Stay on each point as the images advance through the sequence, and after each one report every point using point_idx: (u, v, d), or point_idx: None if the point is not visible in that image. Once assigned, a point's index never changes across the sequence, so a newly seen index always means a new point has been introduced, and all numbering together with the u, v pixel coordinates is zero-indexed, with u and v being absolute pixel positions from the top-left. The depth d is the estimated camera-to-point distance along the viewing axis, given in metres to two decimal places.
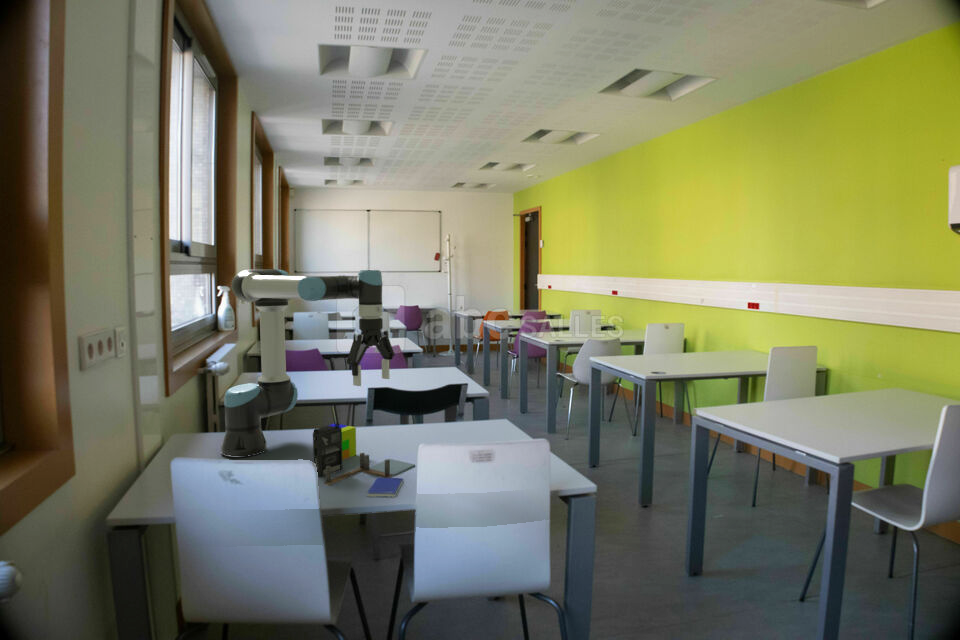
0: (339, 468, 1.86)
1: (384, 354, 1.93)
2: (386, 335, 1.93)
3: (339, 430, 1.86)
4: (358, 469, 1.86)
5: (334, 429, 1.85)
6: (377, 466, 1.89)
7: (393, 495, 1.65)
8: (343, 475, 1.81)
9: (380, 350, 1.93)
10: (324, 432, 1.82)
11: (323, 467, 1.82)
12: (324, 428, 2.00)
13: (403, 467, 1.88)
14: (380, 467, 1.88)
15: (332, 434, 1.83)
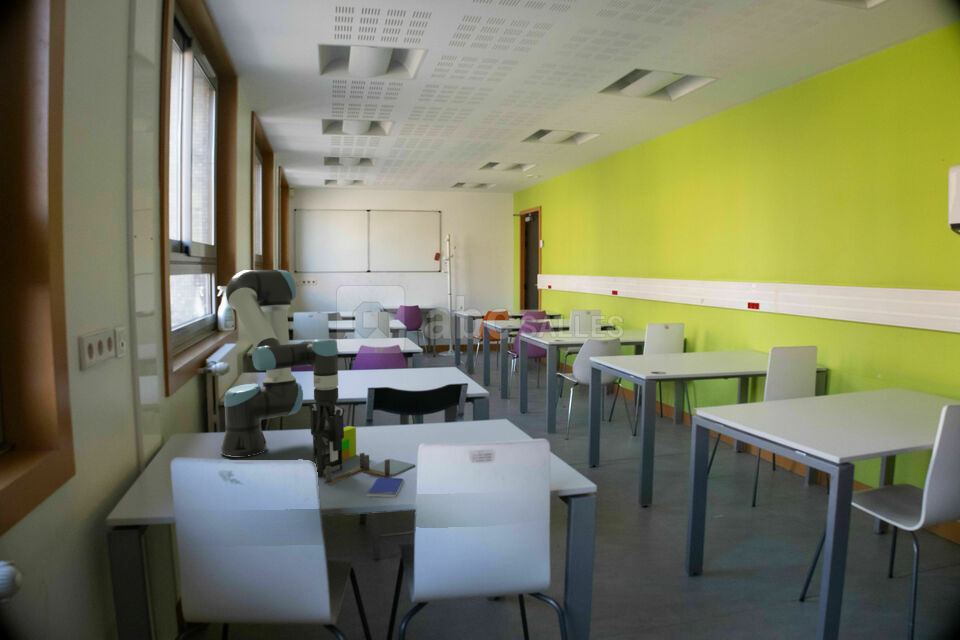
0: (339, 468, 1.86)
1: None
2: (336, 414, 1.80)
3: None
4: (358, 469, 1.86)
5: None
6: (377, 466, 1.89)
7: (393, 495, 1.65)
8: (343, 475, 1.81)
9: None
10: (324, 432, 1.82)
11: (323, 467, 1.82)
12: (324, 428, 2.00)
13: (403, 467, 1.88)
14: (380, 467, 1.88)
15: None
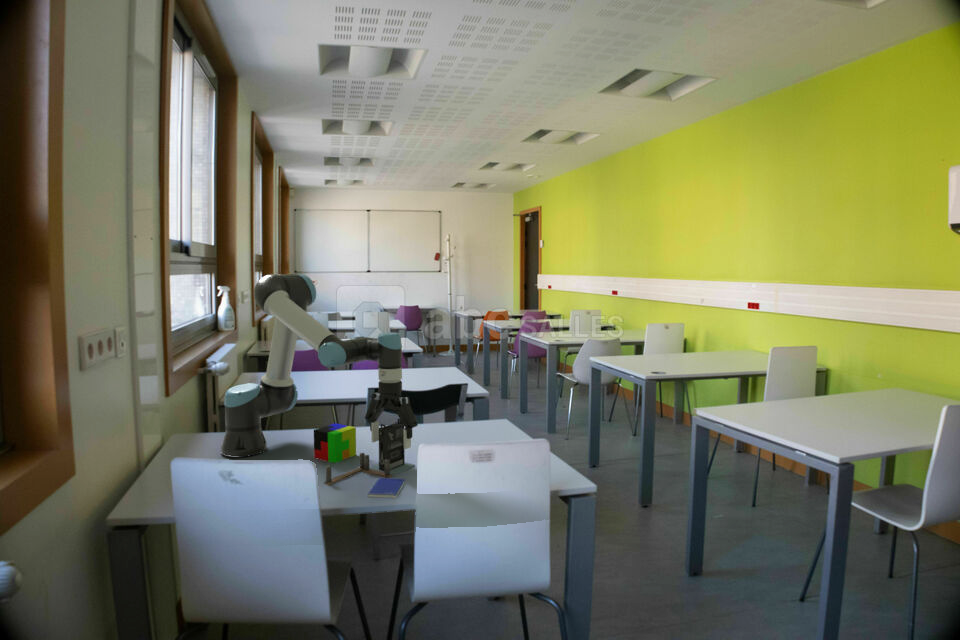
0: (402, 463, 1.90)
1: None
2: (402, 403, 1.83)
3: (402, 425, 1.89)
4: (358, 469, 1.86)
5: (398, 424, 1.89)
6: (377, 466, 1.89)
7: (394, 496, 1.65)
8: (343, 475, 1.81)
9: None
10: (389, 427, 1.86)
11: None
12: (324, 428, 2.00)
13: (403, 467, 1.88)
14: None
15: (396, 429, 1.87)
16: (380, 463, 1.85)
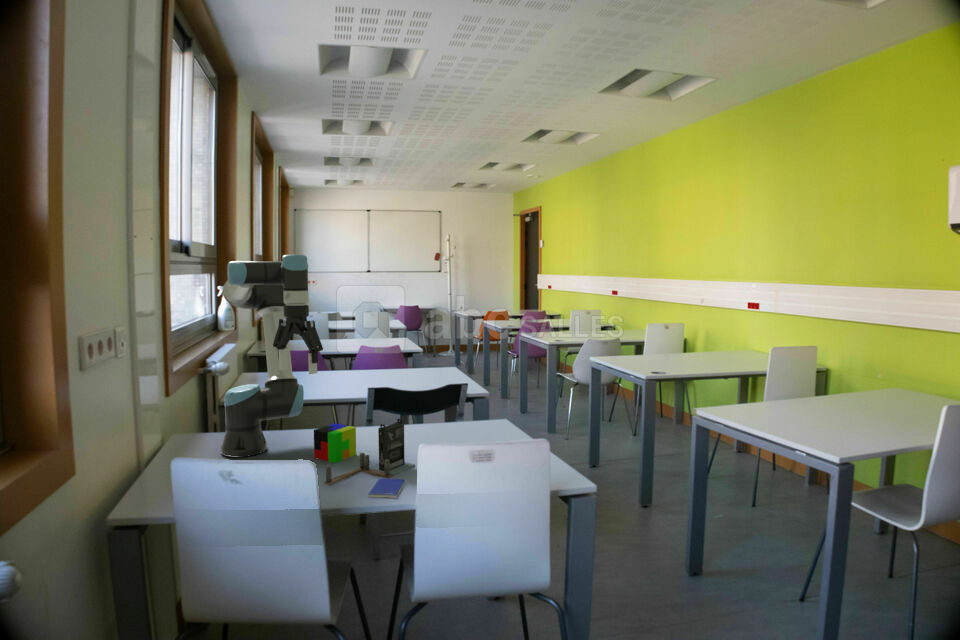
0: (402, 463, 1.90)
1: None
2: (307, 326, 1.77)
3: (402, 425, 1.89)
4: (358, 469, 1.86)
5: (397, 424, 1.89)
6: (377, 466, 1.89)
7: (394, 496, 1.65)
8: (343, 475, 1.81)
9: None
10: (389, 427, 1.86)
11: None
12: (324, 428, 2.00)
13: (403, 467, 1.88)
14: None
15: (396, 429, 1.87)
16: (380, 463, 1.85)
